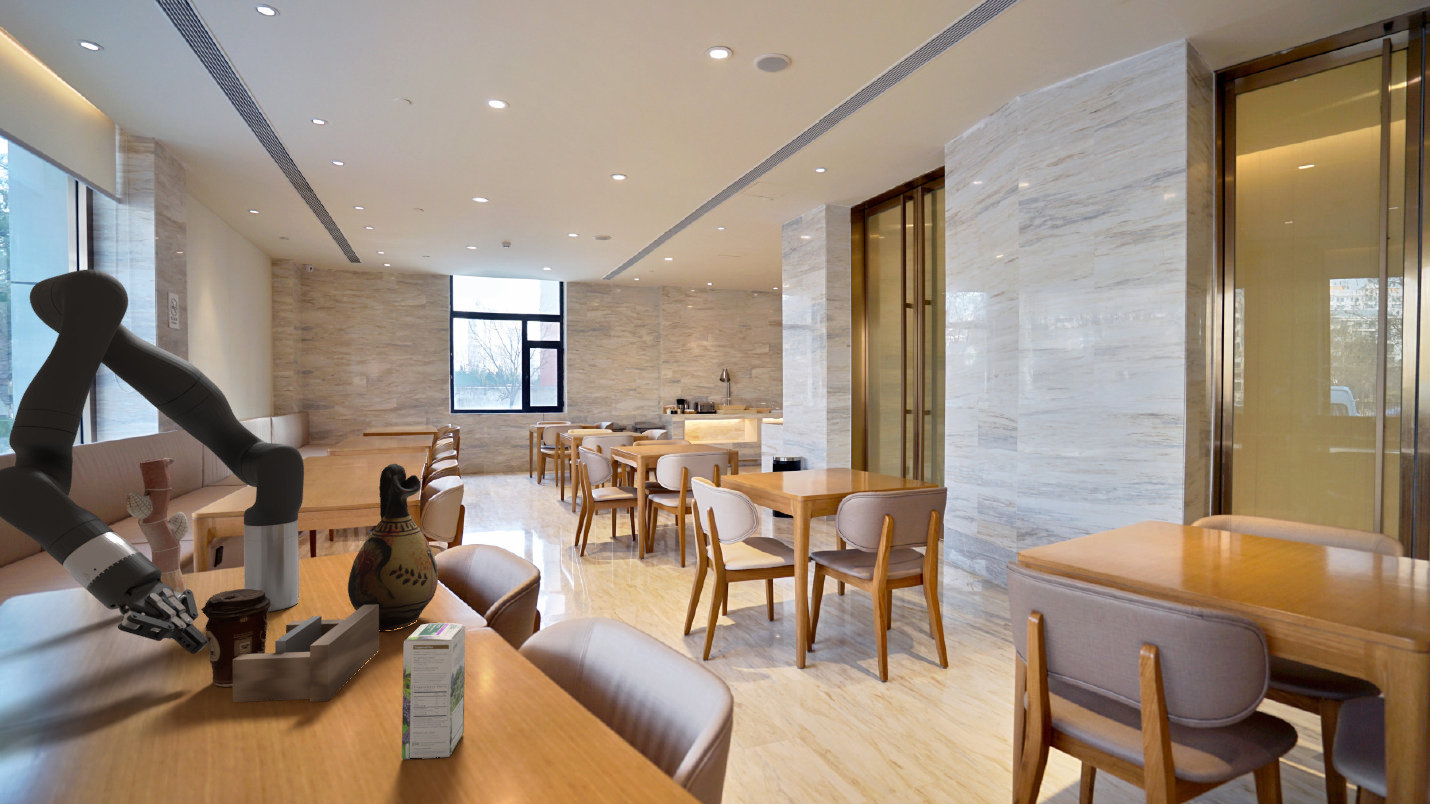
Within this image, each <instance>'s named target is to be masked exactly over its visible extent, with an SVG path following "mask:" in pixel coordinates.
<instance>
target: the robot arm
mask: <svg viewBox="0 0 1430 804" xmlns="http://www.w3.org/2000/svg"><path fill="white" fill-rule="evenodd" d="M29 304H30V305H31V309H32V311H33V312H34V314H35V315H36V316H37V317H38V318H39V320H41V321H42V322H43V324H45V325H46V326H47V327H49V328H50V329H51V330H53V331H54V332H56V333H57V334H58V336H57V338H56V341H55V343H54V345H53V347H52V349H51V351H50V352H49V354H48V356H47V358H46V360H45V361H44V362H43V363H42V366H41V367H40V368H39V370H38V372H37V373H35V376H34V377H33V378H32V379H31V382H30V383H29V384H28V385H27V387H26V389H25V391H24V393H23V394H22V397H21V399H20V401H19V405H18V408H17V411H16V415H15V417H14V421H13V424H12V427H11V430H10V434H9V439H8V440H9V446H10V448H11V449H12V451H13V453H15V465H13V466H8V467H3V468H1V469H0V518H1V519H2V520H3V521H5V522H7V523H8V524H10V525H11V526H13V527H14V528H16V529H17V530H18V531H20V532H21V533H22V534H25V535H26V536H28V537H30V538H31V539H32V540H34V541H35V542H36V543H38V544H39V546H41V547H42V549H43V550H44V551H45V552H46V553H47V554H48V555H50V556H51V557H52V558H53V559H54V560H55V561H57V562H58V564H60V565H61V566H63V568H64V569H65V570H66V571H67V572H68V574H69V575H70V576H71V577H72V578H73V579H74V581H76V582H77V583H78V584H79V585H81V586H82V588H84V589H85V590H86V591H88V592H89V593H90V594H91V595H92V596H93V597H94V598H95V599H96V600H98V602H100V603H101V604H102V605H103V606H104V607H106V608H107V609H108V610H118V611H119V613H120V614H122V615H123V619H122V621H121V622H120V623H119V624H118V625H117V629H118V630H120V631H122V632H125V633H129V634H132V635H135V636H139V637H142V638H145V639H149V640H153V641H155V642H162V641H163V639H168V640H170V641H171V640H173V641H175V642H176V643H177V644H179V646H180V647H182V648H183V649H184V650H186V652H189V654H191V655H195V654H197V653H199V652H201V651H203V649H204V648H205V647H207V646H208V643H207V636H206V635H205V634H204V633H202V631H200V630H199V628H197V627H196V626H195V625H194V623H195V622H194V621H195V620H196V619H197V618H198V617H199V612H198V608H197V604H196V599H195V595H194V592H193V591H192V590H191V589H188V588H187V589H186V590H185V591H184V592H183V593H180V592H175V591H174V590H173V589H172V588H171V587H170V586H168V585H166V584H164V583H163V582H161V576H162V571H161V570H160V569H159V568H158V567H157V566H156V565H155V564H153V563H152V560H150V559H149V557H147V556H146V555H144V553H143V552H141V551H140V550H139V549H138V548H136V546H134V545H133V544H132V543H131V542H130V541H128V540H127V539H126V538H124V537H123V536H121V535H119V534H118V533H116V531H114V530H113V529H112V528H111V527H110V526H109V525H107V523H105V522H104V521H103V520H102V519H101V518H100V517H98V516H97V515H96V514H94V513H93V512H91V511H90V510H88V509H87V508H84V507H82V506H80V505H78V504H77V503H76V502H74V501H73V500H72V498H71V497H69V495H70V492H71V488H72V482H73V463H74V461H73V460H74V459H73V447H74V445H75V444H74V443H75V441H76V438H77V435H78V431H79V428H80V424H81V421H82V420H81V419H82V417H83V412H84V410H85V409H84V408H85V405H86V402H87V399H88V396H89V392H90V390H91V387H92V385H93V383H94V380H95V377H96V376H97V373H98V370H99V368H100V365H101V363H102V364H103V365H104V366H105V367H106V368H108V369H109V370H110V371H112V372H113V373H114V374H115V375H116V376H117V377H118V378H120V379H121V380H122V381H124V382H125V383H126V384H127V385H129V386H130V387H131V388H132V389H133V390H135V391H136V392H138V394H140V395H141V396H143V398H144V399H145V400H147V401H148V402H149V403H150V404H151V405H152V406H154V407H155V408H156V409H157V410H159V411H160V412H161V413H162V414H163V415H165V416H166V417H167V418H168V419H169V420H171V421H173V423H175V424H176V425H178V426H179V427H181V428H182V429H183V430H184V431H185V432H186V433H188V434H189V435H190V436H192V437H193V438H194V439H196V441H198V442H200V444H203V445H204V446H205V447H206V448H207V449H208V450H209V451H211V452H212V453H213V454H214V455H215V456H216V457H217V458H218V459H219V460H220V461H221V462H222V463H223V464H224V465H225V466H226V467H227V469H228V470H230V471H231V472H232V473H233V475H234V476H235V477H236V478H238V479H239V480H240V482H242V483H243V484H246V485H248V486H250V487H252V488H256V490H255V491H256V492H255V493H256V495H255V501H254V503H253V505H252V506H250V507H248V508H246V509H245V510H244V512H243V563H244V564H243V565H244V566H243V570H244V571H243V573H244V574H243V575H244V576H243V578H244V580H243V581H244V582H243V587H244V588H243V589H253V590H262V591H264V592H265V596H266V597H267V598H269V600H270V601H271V606H270V607H269V608H268V612H275V611H279V610H283V609H287V608H291V607H293V606H295V605H296V604H298V603H299V598H300V554H299V512H300V510H301V507H302V505H303V500H304V481H305V464H304V459H303V456H302V454H301V452H300V451H299V450H298V449H297V448H296V447H294V446H293V445H289V444H287V443H273V442H266V441H265V440H262V439H261V438H260V437H258V436H256V434H254V432H253V433H252V431H251V430H249V429H248V428H246V427H245V426H244V425H243V423H241V422H240V420H238V418H237V417H236V415H235V414H234V411H233V409H232V407H231V405H230V404H229V400H228V399H227V398H226V395H225V394H224V392H223V391H222V390H221V389H220V388H219V386H217V385H216V384H215V383H214V382H213V381H212V380H211V379H210V378H209V377H208V376H207V375H206V374H204V373H203V372H202V370H200V369H199V368H197V367H196V366H195V365H194V364H192V363H190V361H188V360H185V359H184V358H183V357H180V356H179V355H176V354H175V353H173V352H171V351H168V350H166V349H164V348H161V347H159V346H157V345H154V344H153V343H151V342H149V341H146V340H145V339H143V338H141V337H140V336H138V335H137V334H135V333H134V332H132V331H131V330H129V329H128V328H127V327H126V326H125V325H124V324H123V323H122V321H123V320H124V317H125V315H126V313H127V310H128V306H129V295H128V293H127V290H126V288H125V287H124V285H123V283H122V282H120V281H119V279H118V278H116V277H115V276H114V275H111V274H110V273H109V272H108V273H107V272H105V271H102V270H99V269H80V270H74V271H71V272H67V273H64V274H63V273H62V274H60V275H56V276H52V277H48V278H46V279H43V280H41V281H39V282H37V283H36V284H35V285H33V286H32V289H31V290H30V293H29Z"/></svg>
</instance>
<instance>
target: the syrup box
mask: <svg viewBox="0 0 1430 804" xmlns="http://www.w3.org/2000/svg"><path fill="white" fill-rule="evenodd" d="M402 651H403V653H402V654H403V656H402V657H403V661H402V662H403V663H402V665H403V666H402V669H403V670H402V710H401V711H402V715H401V716H402V718H401V719H402V720H401V721H402V724H401V725H402V726H401V728H402V729H401V734H402V735H401V758H402V760H411V759H410V758H422V759H437V758H438V757H440V758H450V757H451V755H452V754H453V752H454V751H455V749H456V747H457V745H458V744H457V743H459V742H460V740H461V739H462V737H463V735H464V733H465V730H464V729H465V728H464V727H465V685H466V684H465V682H466V681H465V680H466V679H465V678H466V677H465V675H466V674H465V673H466V671H465V670H466V667H465V666H466V662H465V661H466V660H465V659H466V654H465V653H466V625H465V624H463V623H462V624H461V623H452V622H435V623H434V622H431V623H425V624H424V623H423V624H420V626H418V627H417V628H416V629H415V630H414V632H412V633H411V634H410V635H409V636H408V637H407V638H406V639H404V641H403V650H402ZM436 757H437V758H436Z"/></svg>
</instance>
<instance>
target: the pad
mask: <svg viewBox="0 0 1430 804" xmlns="http://www.w3.org/2000/svg"><path fill="white" fill-rule="evenodd" d="M305 620H306V621H305V622H303V623H302V624H300V625H299V626H297V627H296V628H294V629H293V630H291V631H290V632H288V633H287V634H286V633H285V634H283V636H281V637H279V638H278V639H276V640H275V642H274V645H275V646H274V647H275V649H274V651H275V652H274V653H289V652H310V645H312V644H313V643H314V642H315V641H317V640H318V639H319V638H321V637H322V620H323V619H322V615H313V616H312V615H311V617H309V618H307V619H305Z"/></svg>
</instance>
